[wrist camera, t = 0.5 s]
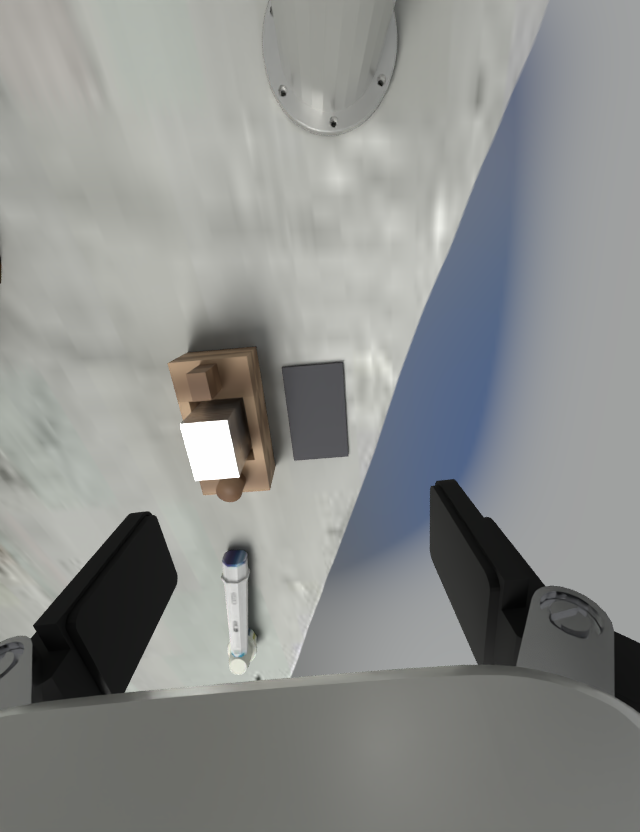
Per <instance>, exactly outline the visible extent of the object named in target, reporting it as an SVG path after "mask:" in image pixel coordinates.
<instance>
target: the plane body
mask: <svg viewBox="0 0 640 832" xmlns="http://www.w3.org/2000/svg"><path fill="white" fill-rule="evenodd" d="M168 367H169V370H170V374H171V378H172V381H173V385H174V389H175V392H176V396H177V400H178V404H179V407H180V411H181V415H182V418H183V420H184V419H185V418H186V417H187V416H188V415H189V414H190V413H191V412H192V411H193V410H194V409H195V408H196V407H197V406H198V405H199V404H200V403H201V402H202V401H208V400H216V399H228V398H240V397H243V399H244V405H245V410H246V415H247V421H248V426H249V431H250V437H251V442H252V447H251V449H250V452H249V454H248V457H247V459H246V462H245V464H244V466H243V469H242V471H241V474H240V476H239V477H236V478H223V479H210V480H199V481H200V485H201V489H202V492H203V495H213V494H217V496H218V497H219V498H220V499H221V500H223V501H226V502H234V501H237V500H238V499H239V498H240V497H241V495H242V492H253V491H266V490H270V488H271V483H272V479H273V475H274V470H275V461H274V455H273V449H272V442H271V436H270V430H269V424H268V417H267V411H266V405H265V399H264V393H263V386H262V380H261V374H260V368H259V361H258V355H257V349H256V347H246V348H235V349H223V350H212V351H200V352H189V353H186V354H184V355H182V356H180V357H178V358H176V359H174V360H173V361H171V362H169V363H168Z"/></svg>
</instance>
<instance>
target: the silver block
mask: <svg viewBox="0 0 640 832" xmlns="http://www.w3.org/2000/svg"><path fill="white" fill-rule="evenodd" d="M180 427H181V431H182V434H183V438H184V441H185V445H186V449H187V452H188V456H189V460H190V463H191V467H192V470H193V474H194V478H195V481H197V480H210V479H223V478H236V477H239V476H240V474H241V471H242V469H243V466H244V464H245V462H246V459H247V457H248V454H249V452H250V449H251V447H252V442H251V437H250V431H249V426H248V421H247V415H246V410H245V405H244V399H243V397H240V398H228V399H216V400H208V401H202V402H201V403H200V404H199V405H198V406H197V407H196V408H195V409H194V410H193V411H192V412H191V413H190V414H189V415H188V416H187V417H186V418H185V419H184V420H183V421H182V422H181V423H180Z"/></svg>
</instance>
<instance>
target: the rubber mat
mask: <svg viewBox="0 0 640 832" xmlns="http://www.w3.org/2000/svg"><path fill="white" fill-rule="evenodd" d="M282 373H283V380H284V388H285V395H286V403H287V410H288V418H289V425H290V433H291V440H292V448H293V455H294V460H307V459H320V458H333V457H345V456H348V445H347V428H346V411H345V394H344V378H343V362H338V363H327V364H315V365H303V366H292V367H282Z"/></svg>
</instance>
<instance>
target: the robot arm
mask: <svg viewBox="0 0 640 832" xmlns="http://www.w3.org/2000/svg"><path fill="white" fill-rule="evenodd" d="M395 2H396V0H269V1H268V4H267V8H266V12H265V16H264V22H263V32H262V48H263V59H264V64H265V70H266V74H267V77H268V81H269V85H270V87H271V89H272V92H273V94H274V96H275V99H276V100H277V102H278V103H279V105H280V106H281V108H282V110H283V111H284V112H285V113H286V114H287V116H288V117H289V118H290V119H291V120H292V121H293V122H295V123H296V124H297V125H299V126H300V127H301V128H303V129H305V130H307V131H309V132H311V133H314V134H318V135H324V136H333V135H340V134H343V133H347V132H349V131H351V130H353V129H355V128H357V127H358V126H360V125H361V124H362V123H363V122H365V121H366V120H367V119H368V118H369V117H370V116H371V115H372V113H373V112H374V111H375V110H376V109H377V107H378V106H379V104H380V102H381V100H382V99H383V97H384V95H385V93H386V91H387V88H388V86H389V83H390V80H391V77H392V73H393V70H394V67H395V60H396V54H397V25H396V18H395V12H394V6H395ZM379 82H380V83H382V86H379V85H378V83H379ZM282 93H285V94H286V96H284V97H282V96H281V94H282ZM332 123H335V124H336V127H332V126H331V124H332ZM430 553H431V558H432V561H433V563H434V566H435V568H436V570H437V573H438V575H439V577H440V579H441V582H442V584H443V586H444V588H445V591H446V593H447V595H448V598H449V600H450V602H451V605H452V607H453V609H454V611H455V614H456V616H457V618H458V620H459V623H460V625H461V627H462V630H463V632H464V634H465V636H466V639H467V641H468V643H469V645H470V648H471V650H472V652H473V655H474V657H475V659H476V661H477V663H478V665H454V666H438V667H422V668H406V669H392V670H380V671H367V672H355V673H343V674H331V675H318V676H307V677H295V678H283V679H271V680H260V681H248V682H237V683H226V684H214V685H203V686H192V687H181V688H171V689H160V690H149V691H139V692H128V693H124V692H125V690H126V688H127V686H128V684H129V682H130V680H131V678H132V676H133V674H134V672H135V670H136V668H137V666H138V664H139V661H140V659H141V657H142V655H143V653H144V651H145V649H146V647H147V645H148V643H149V641H150V639H151V637H152V635H153V633H154V631H155V628H156V626H157V624H158V622H159V620H160V618H161V616H162V614H163V612H164V610H165V608H166V606H167V604H168V602H169V600H170V598H171V595H172V593H173V591H174V589H175V587H176V585H177V579H178V578H177V572H176V570H175V567H174V564H173V561H172V558H171V556H170V553H169V550H168V547H167V544H166V542H165V539H164V536H163V533H162V530H161V528H160V525H159V522H158V519H157V517H156V516H155V515H152V514H151V513H150V512H148V511H147V512H137V513H131V514H129V515H128V516H127V517H126V518H125V519H124V521H123V522H122V523H121V524H120V525H119V526H118V527H117V529H116V530H115V531H114V532H113V533H112V534H111V536H110V537H109V538H108V539H107V540H106V541H105V543H104V544H103V545H102V546H101V547H100V548H99V550H98V551H97V552H96V553H95V554H94V555H93V557H92V558H91V559H90V560H89V561H88V562H87V563H86V565H85V566H84V567H83V568H82V569H81V570H80V572H79V573H78V574H77V575H76V576H75V577H74V579H73V580H72V581H71V582H70V583H69V584H68V586H67V587H66V588H65V589H64V590H63V591H62V593H61V594H60V595H59V596H58V597H57V598H56V599H55V601H54V602H53V603H52V604H51V605H50V606H49V608H48V609H47V610H46V611H45V612H44V613H43V615H42V616H41V617H40V618H39V619H38V620H37V622H36V623H35V624H34V625H33V627H34V628H35V630H36V633H35V634H34V635H33V637H32V638H29V637H27V636H16V637H12V638H8V639H6V640H4V641H2V642H0V832H640V643H638V642H636V641H634V640H632V639H630V638H628V637H625V636H623V635H621V634H619V633H617V632H615V631H614V629H613V625H612V622H611V620H610V619H609V617H608V616H607V614H606V613H605V612H604V611H603V610H602V609H601V608H600V607H599V606H598V605H597V604H596V603H595V602H593V601H592V600H591V599H589V598H588V597H586V596H585V595H582V594H580V593H578V592H576V591H574V590H571V589H567V588H564V587H560V586H545V585H544V584H543V583H542V582H541V580H540V579H539V578H538V576H537V575H536V574H535V572H534V571H533V570H532V569H531V568H530V566H529V565H528V564H527V562H526V561H525V560H524V559H523V557H522V556H521V555H520V553H519V552H518V551H517V550H516V549H515V547H514V546H513V545H512V543H511V542H510V541H509V540H508V539H507V537H506V536H505V535H504V533H503V532H502V531H501V529H500V528H499V527H498V526H497V524H496V523H495V522H494V521H493V520H492V519H491V518H489V517H485V518H484V517H483V516H482V515H481V513H480V512H479V511H478V509H477V508H476V507H475V505H474V504H473V503H472V501H471V500H470V499H469V497H468V496H467V495H466V494H465V492H464V491H463V490H462V488H461V487H460V486H459V484H458V483H457V482H456V481H455V480H454V479H451V480H442V481H436V483H435V486H431V488H430Z"/></svg>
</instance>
